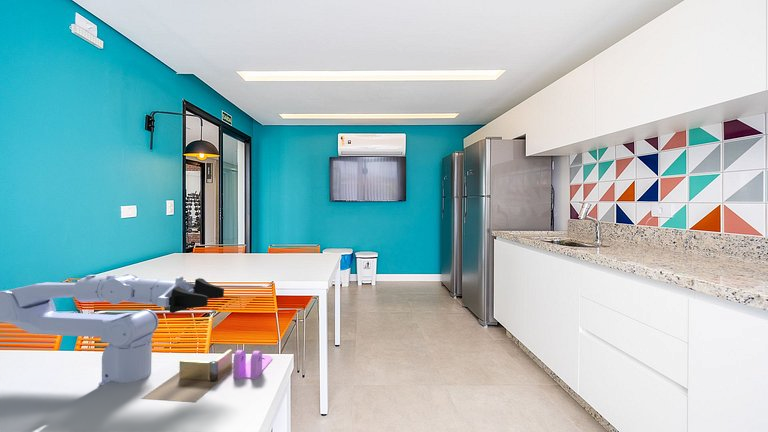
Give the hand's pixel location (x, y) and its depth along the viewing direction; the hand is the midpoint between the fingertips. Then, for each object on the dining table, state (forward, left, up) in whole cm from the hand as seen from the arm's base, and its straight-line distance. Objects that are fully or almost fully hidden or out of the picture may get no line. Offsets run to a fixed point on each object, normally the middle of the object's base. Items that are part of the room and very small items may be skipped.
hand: (215, 297), depth 86 cm
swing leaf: (-4, -1, -19) cm, 20 cm away
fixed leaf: (0, +2, -19) cm, 20 cm away
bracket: (+7, +8, -21) cm, 23 cm away
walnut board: (-4, -1, -20) cm, 21 cm away
